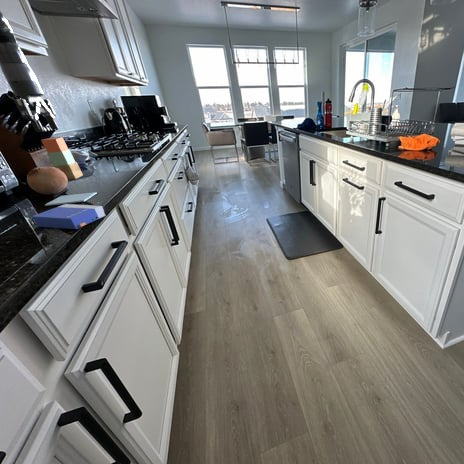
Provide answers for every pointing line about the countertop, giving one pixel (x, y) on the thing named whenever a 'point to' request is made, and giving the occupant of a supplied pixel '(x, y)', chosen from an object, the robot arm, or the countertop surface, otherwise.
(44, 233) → the countertop surface
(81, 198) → the pad
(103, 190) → the countertop surface
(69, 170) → the bottom block
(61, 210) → the walkman
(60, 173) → the onion
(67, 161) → the middle block
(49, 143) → the top cube
